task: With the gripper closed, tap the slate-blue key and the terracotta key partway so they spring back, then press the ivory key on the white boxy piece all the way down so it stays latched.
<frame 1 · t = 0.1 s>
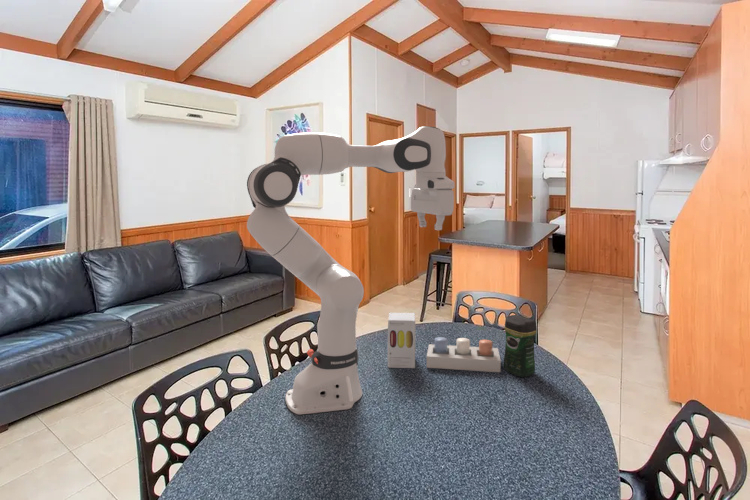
hand: (430, 228, 134), 48 cm above the table, fingers open, 8 cm apart
white boxy piece: (462, 363, 151), on the table
slate blue key: (440, 344, 151), point 6 cm above the table, slide at 0.1 cm
terracotta key: (485, 347, 148), point 6 cm above the table, slide at 0.1 cm
supplement box: (401, 363, 152), on the table
coffee jar: (518, 372, 144), on the table
ivory key: (463, 345, 150), point 6 cm above the table, slide at 0.0 cm
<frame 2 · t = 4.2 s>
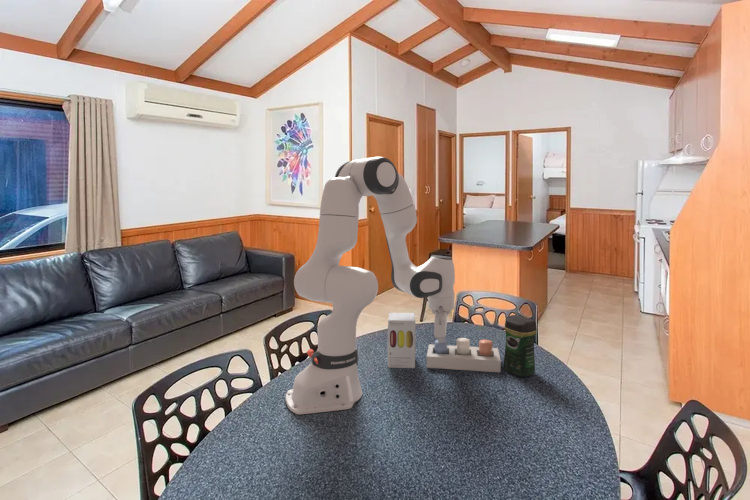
hand: (440, 341, 151), 7 cm above the table, fingers closed, pressing on slate blue key
slate blue key: (440, 347, 151), point 5 cm above the table, slide at 1.0 cm, touching gripper
everything else where it was.
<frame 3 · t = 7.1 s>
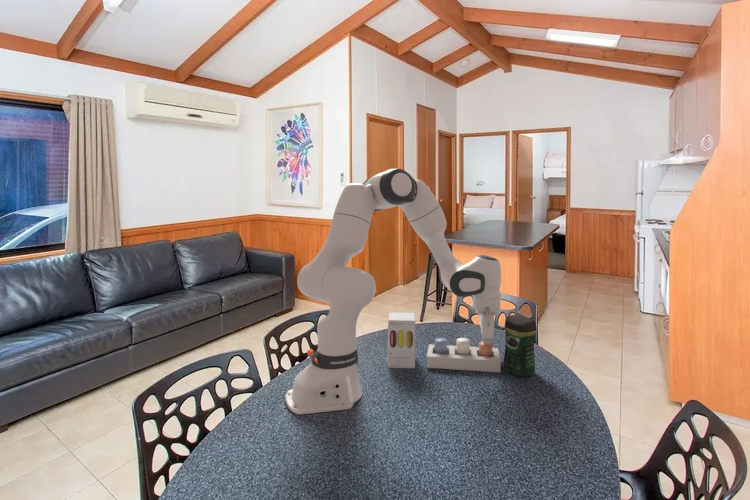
hand: (485, 343, 148), 8 cm above the table, fingers closed, pressing on terracotta key
slate blue key: (440, 345, 151), point 6 cm above the table, slide at 0.5 cm
terracotta key: (485, 349, 148), point 6 cm above the table, slide at 0.7 cm, touching gripper
everything else where it was.
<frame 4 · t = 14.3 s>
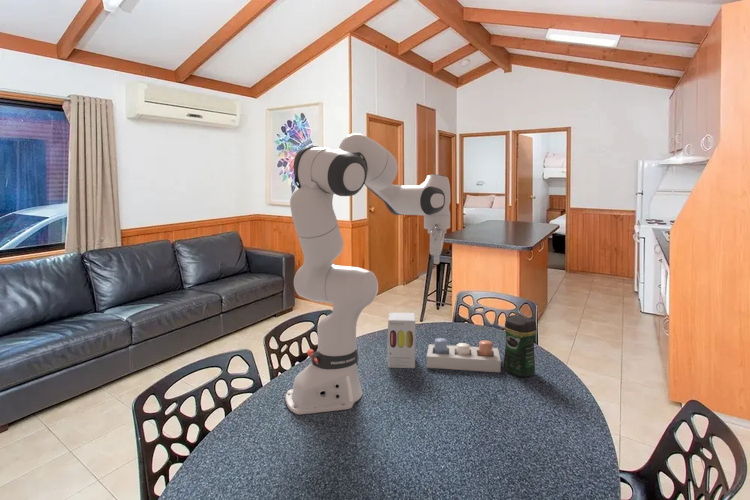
hand: (436, 263, 150), 34 cm above the table, fingers closed
terracotta key: (485, 348, 148), point 6 cm above the table, slide at 0.5 cm
ivory key: (463, 350, 150), point 4 cm above the table, slide at 1.9 cm
everything else where it was.
at the end: ivory key slide at 1.9 cm; slate blue key slide at 0.5 cm; terracotta key slide at 0.5 cm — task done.
